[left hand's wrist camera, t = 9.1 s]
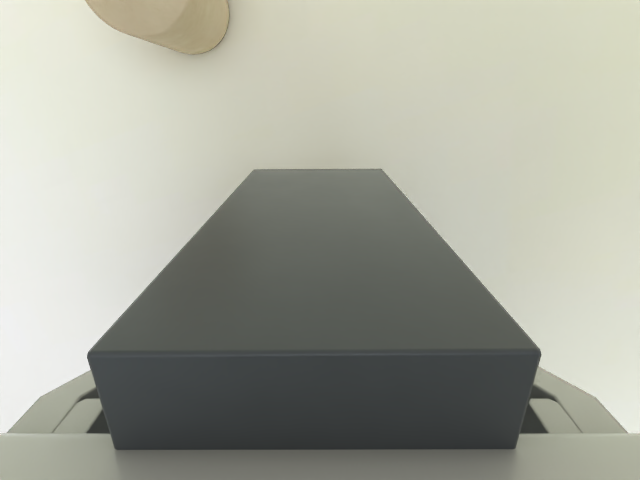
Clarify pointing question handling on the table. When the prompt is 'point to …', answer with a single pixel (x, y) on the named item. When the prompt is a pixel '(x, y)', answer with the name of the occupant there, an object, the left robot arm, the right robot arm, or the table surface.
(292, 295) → the box
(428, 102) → the table surface
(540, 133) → the table surface
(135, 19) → the candle
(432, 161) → the table surface
